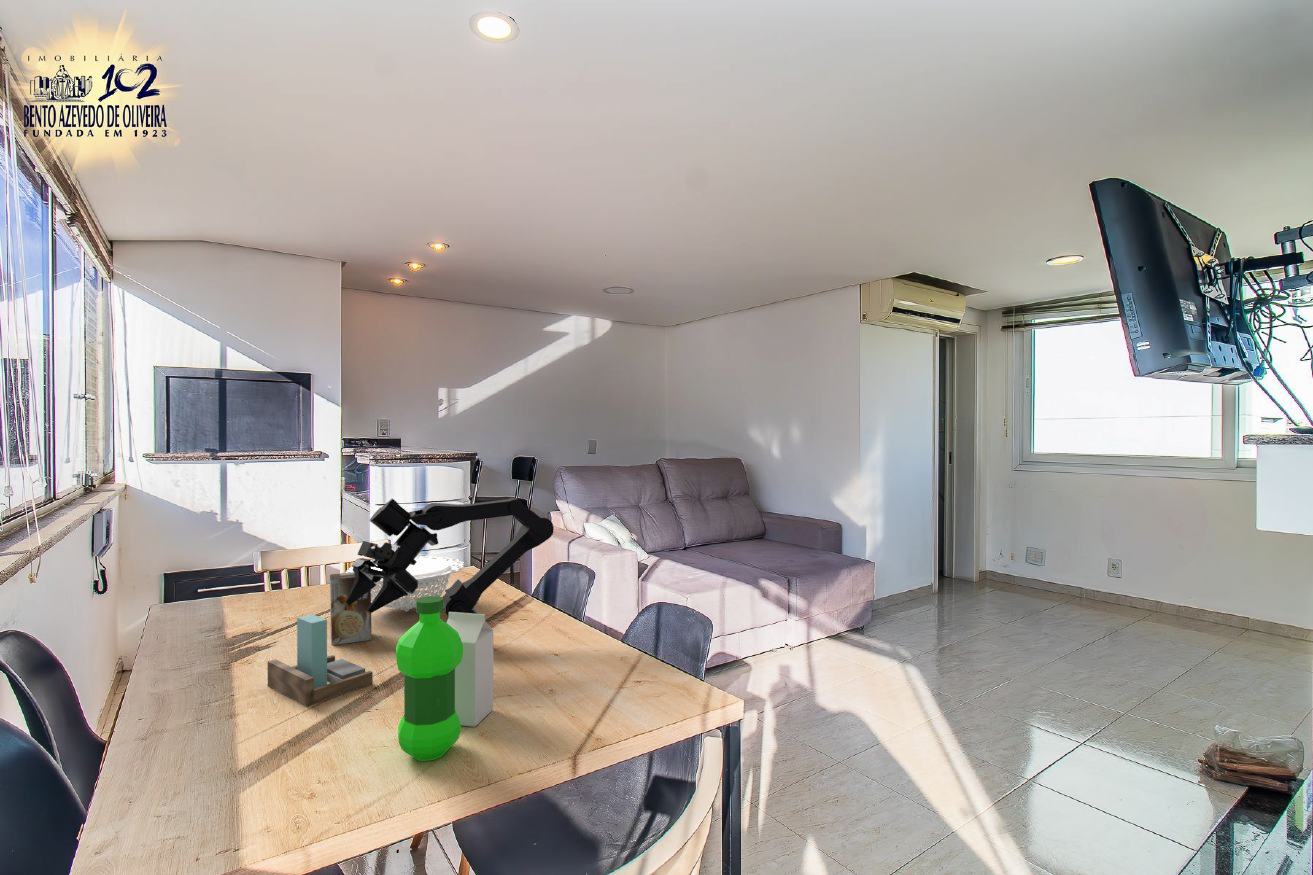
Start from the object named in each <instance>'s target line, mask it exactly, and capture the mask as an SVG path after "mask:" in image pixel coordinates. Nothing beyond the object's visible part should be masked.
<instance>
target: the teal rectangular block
mask: <svg viewBox="0 0 1313 875" xmlns="http://www.w3.org/2000/svg"><path fill="white" fill-rule="evenodd" d="M296 643H297V644H296V647H297V648H296V651H297V652H296V657H297V658H296V662H297V663H296V664H297V670H299V671H301V672H303V673H305V674H307V675H309V676H311V677H314V689H315V688H318V687H321V686H324V685H327V684H328V681H327V657H328V620H327V619H326V618H324V617H321V616H317V615H316V614H308V615H303V616H300V617H297V618H296Z"/></svg>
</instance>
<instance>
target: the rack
mask: <svg viewBox="0 0 1313 875" xmlns="http://www.w3.org/2000/svg"><path fill="white" fill-rule="evenodd" d="M333 661H336V656H335V655H333V654H331V655H329V656H328V655H327V663H330V662H333ZM373 679H374V678H373V671H371V670H369V671H365V673H362V674H359V675H355V676H352V677H349V678H346V679H343V680H340V681H337V682H333V683H330V682H329V683H327V685H324V686H321V687H318V688H315V689H314V677H311V676H309V675H307V674H305V673H303V672H301V671H299V670H297V665H292V666H290V665H289V664H286V663H284V662H282V661H281V660H278V659H276V658H275V659H271V660H268V661H267V686H268V687H270V689H273V690H275V691H276V692H278V693H280V694H282V695H284V696H286V697H288V698H289V699H291V700H293V701H295V702H297V703H299V704H300V705H302V706H304V707H310V706H312V705H314V704H317V703H320V702H324V701H327V700H329V699H333V698H336V697H339V696H341V695H344V694H347V693H350V692H354V691H356V690H360V689H363V688H365V687H368V686H371V685H373Z"/></svg>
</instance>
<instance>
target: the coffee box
mask: <svg viewBox="0 0 1313 875" xmlns="http://www.w3.org/2000/svg"><path fill="white" fill-rule="evenodd" d="M354 580H355V574H354V572H352V573H346V572H343V573H332V574H329V595H330V596H329V599H330V602H329V604H330V645H331V646H337V645H344V644H350V643H357V642H364V641H371V640H372V639H373V633H372V628H373V627H372V613H370V612H369V611H368V608H369V606H370V605H371V603H372V601H371V594H372V592H371V590H370V591H368V592H367V593H366V594H364V595H363V596H362V597H360V598H359V599H358V600H356V601H355V602H353V603H352V604H350V605H348V604H347V603H346V600H347V597H348V595H349V593H350V590H351V588H352V586H353V583H354Z"/></svg>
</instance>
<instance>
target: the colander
mask: <svg viewBox="0 0 1313 875" xmlns="http://www.w3.org/2000/svg"><path fill="white" fill-rule="evenodd" d="M414 560H416V561H417V562H416V564H415V565H409V566H408V568H407V569H406V570H407V571H408V572H409V573H410V574H411V575H412V576H413V577H414V578H415V579H416V580H418V588H417V589H416V590H415V591H414V593H413V594H411V593H408V592H407V593H408V595H407V596H403V597H401V598H399V599H397V600H395V601H393V602H391V603H389V604H387V605H385V606H383V607H385V608H389V609H391V608H392V609H395V610H401V611H403V610H404V611H405V612H406V613H407V612H409V610H411V609H413V608H415V609H416V600H417V599H419V598H421V597H427V596H439V597H441V596H442V594H443V593H444V592H445V590H446V588H447V585H448V584H449V579H450V576H451V574H455V573H458V572H459V571H461V570H463V569H464V568H465V565H466V564H465V562H464V561H461V560H460V559H458V558H452V557H451V558H450V557H447V556H441V557H440V556H432V555H430V556H429V555H424V556H416V558H415V559H414ZM375 565H376V564H375ZM376 566H377V565H376ZM352 572H353V567H352V566H351V567H349V568H348V569H347V570H346V571H345V573H352ZM375 584H376V586H375V587H374V588H372V589H371V602H372V601H373V600H374V599H375V597H376V596H377V594H378V593H379V591H380V590H381V588H382V586H383V578H382V579H381V580H380V581H378V582H376V583H375Z"/></svg>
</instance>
